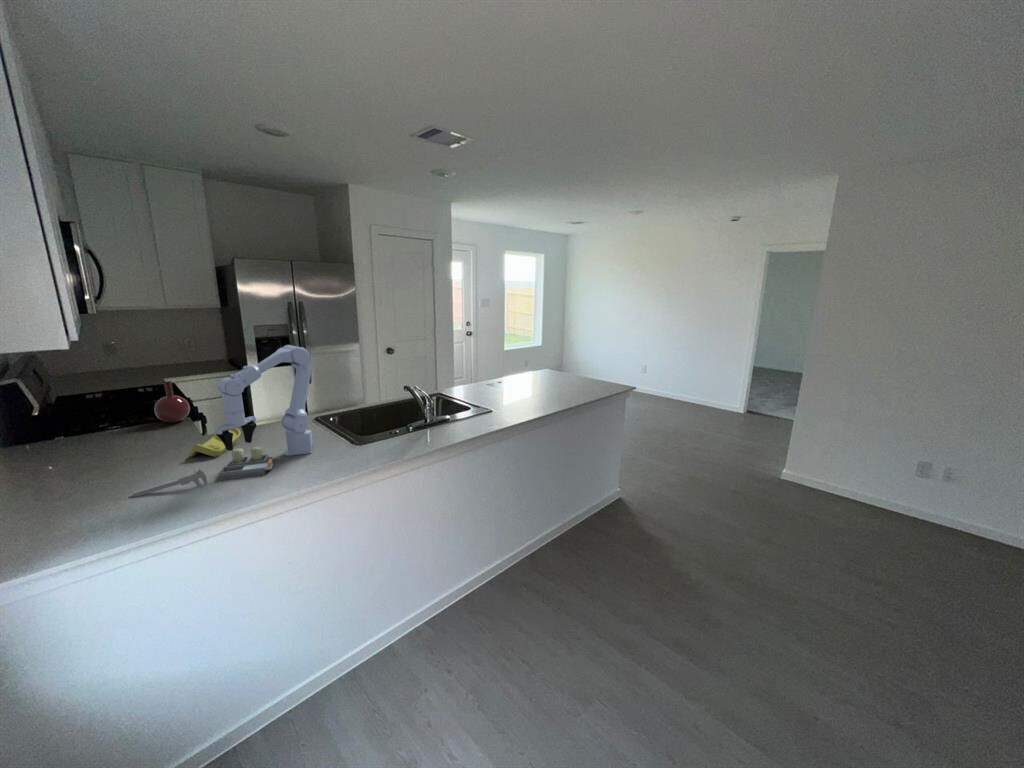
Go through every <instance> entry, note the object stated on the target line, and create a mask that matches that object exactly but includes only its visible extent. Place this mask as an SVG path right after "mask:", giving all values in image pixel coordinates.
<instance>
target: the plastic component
mask: <svg viewBox="0 0 1024 768" xmlns="http://www.w3.org/2000/svg"><path fill="white" fill-rule="evenodd" d="M229 432H230V433H233V438H232V444H233V445H234V443H235V442H236V441H238V439H239V438H240V435H241V430H240V429H239V428H238V427H237V428H234V429H232V430H229ZM226 451H228V450H227V449H226V447H225V445H224V444H223V442H222V440H221V439H220V438H219V437H218V436H217V435H216V434H215V433H214V435H213V436H212V437H211V438H210V439H209V440H207V441H206V442H204V443H203V444H199V443H196V444H194V446H193V448H192V449H191V451H190V453H189V454H188V456H189V457H195V456H196V455H197V454H199V453H202V454H203V455H207V456H209V457H214V458H217V457H220V456H221V455H223V454H224V453H225V452H226Z"/></svg>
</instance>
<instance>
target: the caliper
mask: <svg viewBox="0 0 1024 768" xmlns="http://www.w3.org/2000/svg"><path fill="white" fill-rule="evenodd" d="M200 479H201V480H202V482H203V484H204V486H207V484H208V479H207V475H206V473H205V472H204V470H201V468H199V469H198V470H197V469H195V470H194V473H190V474H187V475H184V476H181V477H178V479H174V480H170V481H168V482H164V483H161V484H158V485H154V486H150V487H146V488H144V489H140V490H138V491H137V490H136V491H134V492H132V493H131V494H130V495H129V496H128V498H133V497H140V496H143V495H148V494H150V493H153V492H157V491H160V490H164V489H167V488H171V487H174V486H177V485H180V486H184V485H188V484H190V483H192V482H193V483H194V484H196V486H197V487H201V486H202V484H201V481H200Z"/></svg>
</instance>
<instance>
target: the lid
mask: <svg viewBox="0 0 1024 768" xmlns="http://www.w3.org/2000/svg"><path fill="white" fill-rule="evenodd" d="M273 465H274V462H273V458H272V459H269V461H268V463H265V464H255V465H246V466H244V468H243V469H242V470H247V469H256V468H264V470H267V471H269V470H271V469H272V468H273Z"/></svg>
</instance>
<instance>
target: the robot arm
mask: <svg viewBox="0 0 1024 768" xmlns="http://www.w3.org/2000/svg"><path fill="white" fill-rule="evenodd" d="M310 356H311V354H310V352H309V351H308V350H307V349H306V348H304V347H302V346H296V345H291V344H286V345H284V346H282V347H280V348H278V349H277V350H276V351H275V352H274V353H272V354H271V355H269V356H268V357H266V358H264V359H263V360H261V361H260V362H258V364H256V365H252V364H250V365H244V366H243V367H242V369H241V370H239V371H237V372H236V373H232V374H230V377H225V378H222V379H221V380H220V381H219V383H218V385H217V390H218V391H219V392H220V393H221V396H222V405H223V410H224V416H225V423H224V424H222V425H220V426H218V427H216V428H214V432H215V433H214V435H215V434H216V435H217V436H218V437H219V438H220V439H221V440H222V442H223V444H224V445H225V447H226V449H227V450H226V451H231V452H232V450H234V444H232V438H233V433H230V432H229V430H232V429H234V428H237V429H238V428H240V427H241V430H242V433H243V437H244V439H243V440H244V441H245V443H248V444H251V443H252V440H253V434H254V432H255V429H256V427H257V423H256V422H257V419H256V416H252V415H251V416H247V417H245V416H246V414H245V410H244V409H245V407H244V402H243V401H244V400H243V394H242V393H244V391H245V388H247V387H248V386H250V385H251V384H253V383H255V382H257V380H260V379H261V377H262V374H263V373H264V372H266V371H268V370H270V369H272V368H273V367H276V366H277V365H279V364H281V363H289V364H291V366H293V367H294V369H295V370H296V371H295V375H294V381H293V388H292V392H291V399H290V403H289V407H288V408H287V409H286V410H285V411H284V412H285V413H284V415H283V416H282V418H281V420H280V421H281V422H280V423H281V426H282V427H283V428H284V431H285V438H286V439H285V440H286V447H287V450H286V452H285V454H284V455H285V456H286V457H287V456H288V457H289V456H298V455H305V454H306V455H307V454H308V455H309V454H312V451H313V448H314V442H313V433H312V429H308V428H309V427H308V426H309V421H308V413H307V412H306V410H305V408H306V403H307V397H308V391H309V388H310V387H309V386H310V382H311V381H310V380H311V377H312V370H313V365H312V361H311V359H310Z"/></svg>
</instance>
